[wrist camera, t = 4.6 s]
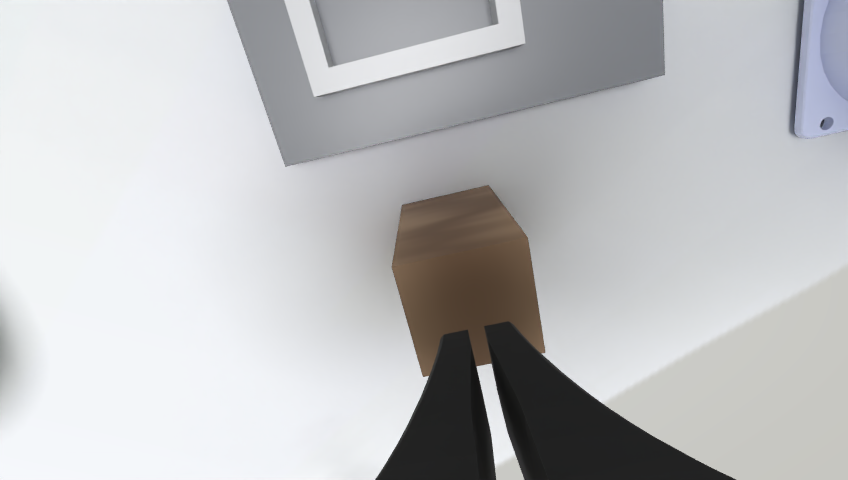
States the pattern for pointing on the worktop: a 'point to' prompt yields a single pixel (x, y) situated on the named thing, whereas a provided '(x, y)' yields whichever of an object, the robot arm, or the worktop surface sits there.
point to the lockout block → (464, 272)
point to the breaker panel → (433, 62)
